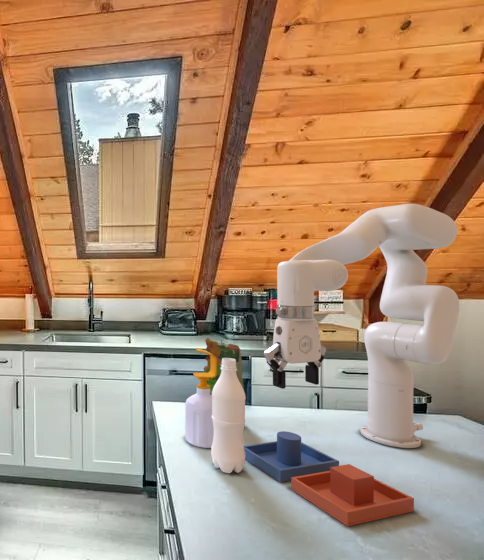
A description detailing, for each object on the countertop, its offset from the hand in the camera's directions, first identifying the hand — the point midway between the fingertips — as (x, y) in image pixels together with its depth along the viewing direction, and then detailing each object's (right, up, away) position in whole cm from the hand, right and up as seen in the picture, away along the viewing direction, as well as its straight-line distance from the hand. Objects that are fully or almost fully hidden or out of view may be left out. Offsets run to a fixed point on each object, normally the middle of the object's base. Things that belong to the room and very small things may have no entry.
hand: (295, 384), depth 91 cm
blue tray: (-2, -18, -1) cm, 18 cm away
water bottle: (-17, -18, -3) cm, 25 cm away
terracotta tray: (+2, -18, -16) cm, 24 cm away
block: (+2, -18, -15) cm, 24 cm away
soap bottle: (-18, -18, +11) cm, 28 cm away
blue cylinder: (-2, -18, -1) cm, 18 cm away
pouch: (-8, -18, +23) cm, 31 cm away
